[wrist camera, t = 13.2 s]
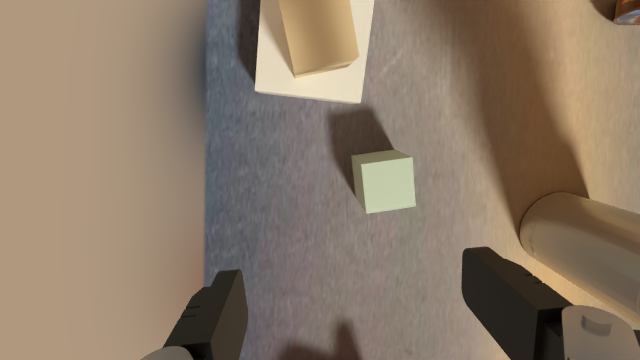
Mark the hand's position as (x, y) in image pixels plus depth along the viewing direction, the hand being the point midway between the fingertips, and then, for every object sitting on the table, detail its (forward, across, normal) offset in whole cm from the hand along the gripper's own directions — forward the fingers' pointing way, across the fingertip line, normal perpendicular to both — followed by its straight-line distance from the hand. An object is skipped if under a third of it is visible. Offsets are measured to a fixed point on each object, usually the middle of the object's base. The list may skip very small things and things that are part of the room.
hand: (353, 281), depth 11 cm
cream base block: (+26, 0, -12) cm, 28 cm away
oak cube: (+21, 0, -11) cm, 24 cm away
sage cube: (+25, -6, +2) cm, 26 cm away
